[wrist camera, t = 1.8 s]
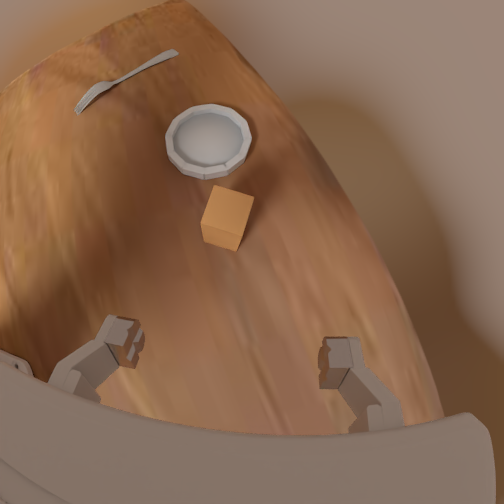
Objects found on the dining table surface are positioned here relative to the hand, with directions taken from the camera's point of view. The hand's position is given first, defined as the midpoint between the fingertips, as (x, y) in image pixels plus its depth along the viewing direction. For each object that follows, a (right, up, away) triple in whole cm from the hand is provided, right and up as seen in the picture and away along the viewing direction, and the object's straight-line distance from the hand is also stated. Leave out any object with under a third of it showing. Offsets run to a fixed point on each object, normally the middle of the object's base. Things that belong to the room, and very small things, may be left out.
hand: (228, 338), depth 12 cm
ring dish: (-5, +18, +24) cm, 31 cm away
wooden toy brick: (-2, +6, +22) cm, 23 cm away
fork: (-20, +32, +25) cm, 45 cm away
